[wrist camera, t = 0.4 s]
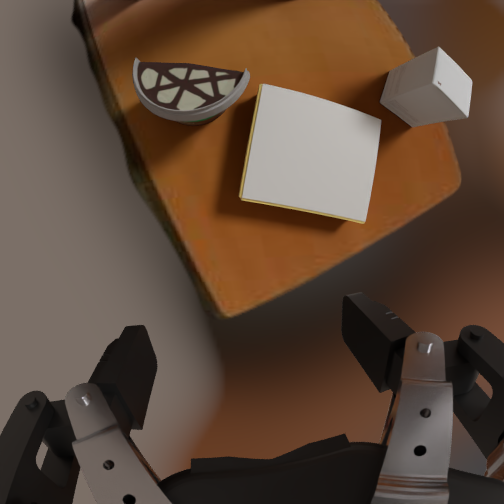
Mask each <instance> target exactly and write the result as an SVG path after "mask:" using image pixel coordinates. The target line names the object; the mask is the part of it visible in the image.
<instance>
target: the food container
mask: <svg viewBox="0 0 504 504" xmlns="http://www.w3.org/2000/svg"><path fill="white" fill-rule="evenodd" d="M132 75H133V83H134V87H135V90H136V93H137V96H138V97H139V99H140V101H141V102H142V103H143V105H144V106H145V107H146V108H147V109H149V110H150V111H151V112H152V113H154V114H156V115H158V116H159V117H162V118H165V119H168V120H173V121H176V122H179V123H181V124H184V125H189V126H197V125H203V124H206V123H209V122H211V121H213V120H215V119H216V118H218V117H219V116H220V115H221V114H222V113H223V112H224V111H225V110H226V109H227V108H228V107H229V106H231V105H232V104H233V103H234V102H235V101H236V100H237V99H238V98H239V97H240V95H241V94H242V93H243V92H244V90H245V88H246V86H247V84H248V82H249V79H250V74H249V71H247V68H246V69H245V71H244V72H239V71H232V70H225V69H219V68H213V67H207V66H202V65H196V64H189V63H158V62H140V61H139V60H138V59H137V58H135V61H134V65H133V74H132Z"/></svg>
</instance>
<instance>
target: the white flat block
mask: <svg viewBox="0 0 504 504" xmlns="http://www.w3.org/2000/svg"><path fill="white" fill-rule="evenodd" d="M380 128H381V120H380V119H378V118H375V117H373V116H370V115H368V114H365V113H362V112H360V111H357V110H354V109H352V108H349V107H346V106H343V105H340V104H337V103H334V102H331V101H328V100H325V99H321V98H318V97H315V96H311V95H308V94H304V93H300V92H297V91H293V90H289V89H285V88H280V87H276V86H271V85H267V84H260V85H259V88H258V93H257V98H256V103H255V108H254V113H253V118H252V124H251V129H250V134H249V140H248V145H247V150H246V156H245V161H244V167H243V173H242V178H241V184H240V190H239V196H238V197H241V200H243V201H249V202H255V203H261V204H267V205H273V206H278V207H284V208H289V209H295V210H300V211H305V212H310V213H315V214H320V215H325V216H330V217H335V218H340V219H344V220H349V221H354V222H358V223H363V224H364V222H365V220H366V215H367V211H368V206H369V201H370V195H371V190H372V184H373V178H374V172H375V166H376V159H377V152H378V145H379V137H380Z"/></svg>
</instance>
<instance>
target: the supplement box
mask: <svg viewBox="0 0 504 504" xmlns="http://www.w3.org/2000/svg"><path fill="white" fill-rule="evenodd" d="M471 89H472V80H471V79H470V78H469V77H468V76H467V74H466V73H465V72H464V71H463V70H462V69H461V68H460V67H459V66H458V65H457V64H456V63H455V62H454V61H453V60H452V59H451V58H450V57H449V56H448V55H447V54H446V53H445V52H444V51H442V49H441V48H440V47H437V48H435V49H433V50H431V51H428V52H426V53H425V54H422V55H420V56H418V57H416V58H414V59H412V60H410V61H408V62H406V63H404V64H402V65H400V66H398V67H396V68H395V69H393V70H391V71H389V74H388V77H387V81H386V84H385V87H384V90H383V93H382V96H381V99H380V103H381V104H382V105H384V106H385V107H386V108H388V109H389V110H390V111H392V112H393V113H394V114H396V115H397V116H398V117H400V118H401V119H402V120H404V121H405V122H406V123H407V124H409V125H410V126H411V127H416V126H422V125H427V124H432V123H438V122H444V121H449V120H456V119H462V118H468V114H469V106H470V99H471Z"/></svg>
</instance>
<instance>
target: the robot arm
mask: <svg viewBox="0 0 504 504" xmlns="http://www.w3.org/2000/svg"><path fill="white" fill-rule="evenodd" d="M341 331H342V336H343V340H344V342H345V343H346V345H347V346H348V348H349V349H350V351H351V352H352V353H353V355H354V356H355V358H356V359H357V361H358V362H359V363H360V365H361V366H362V368H363V369H364V371H365V372H366V374H367V375H368V377H369V378H370V379H371V381H372V382H373V384H374V385H375V387H376V388H377V390H378V391H379V392H380V393H381V392H384V391H386V390H389V389H391V390H392V392H393V394H392V397H391V401H390V405H389V410H388V413H387V417H386V421H385V425H384V429H383V432H382V436H381V439H380V441H379V444H377V443H371V442H370V443H369V442H349V441H348V439H347V437H346V435H345V434H342V435H339V436H335V437H331V438H328V439H325V440H321V441H317V442H313V443H309V444H307V445H305V446H302V447H300V448H298V449H296V450H293V451H291V452H288V453H286V454H284V455H282V456H279V457H276V458H273V459H249V458H238V457H217V458H198V459H191V469H187V470H184V471H181V472H178V473H175V474H173V475H171V476H169V477H167V478H165V479H163V480H161V479H160V478H159V477H158V475H157V474H156V473H155V472H154V470H153V469H152V468H151V466H150V465H149V464H148V462H147V461H146V459H145V458H144V456H143V455H142V454H141V452H140V450H139V449H138V447H137V446H136V445H135V443H134V442H133V440H132V438H131V437H130V436H129V435H130V431H131V429H137V430H142V429H143V424H144V420H145V416H146V411H147V407H148V403H149V399H150V395H151V391H152V387H153V384H154V379H155V376H156V372H157V359H156V355H155V353H154V350H153V347H152V344H151V341H150V338H149V336H148V332H147V330H146V328H145V326H144V325H137V326H126V327H125V328H124V330H123V332H122V334H121V335H120V337H119V339H115V340H114V341H113V342H112V343H111V344H109V345H108V346H107V348H106V350H105V352H104V354H103V356H102V357H101V359H100V362H99V363H98V364H97V366H96V368H95V370H94V372H93V374H92V376H91V377H90V379H89V381H88V383H83V384H79V385H77V386H75V387H73V388H72V389H71V390H70V391H69V392H68V393H67V395H66V397H65V400H60V401H53V402H50V401H49V400H48V399H47V397H46V395H45V394H44V393H43V392H41V391H32V392H29V393H27V394H26V395H24V396H23V397H22V398H21V399H20V401H19V402H18V404H17V406H16V407H15V409H14V411H13V413H12V414H11V416H10V418H9V420H8V422H7V424H6V426H5V427H4V429H3V431H2V433H1V435H0V504H72V503H73V498H74V493H75V488H76V484H77V479H78V475H79V471H80V467H81V470H82V472H83V475H84V477H85V479H86V481H87V484H88V486H89V488H90V490H91V492H92V494H93V496H94V498H95V500H96V502H97V504H504V343H503V342H502V341H500V340H499V339H498V338H497V337H496V336H494V335H493V334H492V333H491V332H489V331H488V330H487V329H485V328H483V327H481V326H476V325H469V326H466V327H464V328H463V329H462V330H461V332H460V335H459V338H458V340H453V341H446V342H443V341H442V340H441V339H440V338H439V337H438V336H436V335H435V334H432V333H428V332H417V333H416V332H415V331H413V330H412V329H411V328H410V327H409V326H408V325H407V324H406V323H404V322H403V321H402V320H401V319H400V318H398V316H397V315H395V314H394V313H392V311H391V310H390V309H389V308H388V307H386V306H385V305H383V304H381V303H378V302H376V301H371V300H370V299H369V298H368V297H367V296H366V295H365V294H364V293H362V292H360V293H355V294H350V295H345V296H344V297H343V302H342V326H341ZM479 373H480V374H481V375H482V376H483V377H484V378H485V379H486V380H487V381H488V382H489V383H490V385H491V386H492V389H493V395H492V398H491V399H490V398H489V397H488V396H487V394H486V393H485V392H484V391H483V390H482V389H481V388H480V387H479V386H478V384H477V383H476V382H475V381H476V379H477V377H478V375H479ZM453 412H454V414H455V415H456V416H457V417H458V419H459V420H460V422H461V423H462V424H463V426H464V427H465V429H466V430H467V431H468V433H469V434H470V436H471V437H472V439H473V440H474V441H475V443H476V444H477V446H478V447H479V449H480V450H481V452H482V453H483V455H484V456H485V458H486V459H487V464H486V467H487V470H486V472H485V474H484V476H481V475H476V474H472V473H468V472H464V471H459V470H456V469H453V468H449V460H450V451H451V440H452V422H453ZM41 442H43V443H44V444H45V445H46V446H47V447H48V451H47V453H46V456H45V459H44V462H43V465H42V468H41V470H40V469H39V468H38V466H37V464H36V455H37V452H38V450H39V447H40V445H41Z"/></svg>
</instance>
